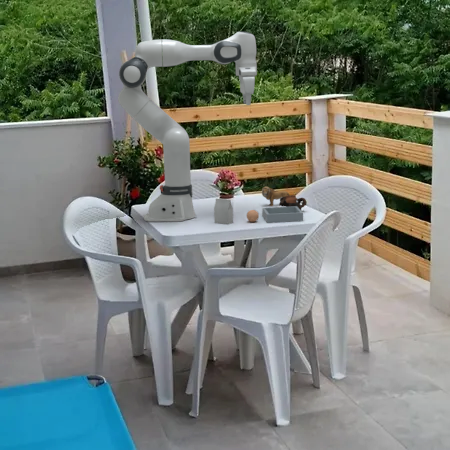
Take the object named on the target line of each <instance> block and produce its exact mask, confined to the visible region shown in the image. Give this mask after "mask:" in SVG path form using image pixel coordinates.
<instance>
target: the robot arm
mask: <svg viewBox="0 0 450 450" xmlns="http://www.w3.org/2000/svg"><path fill="white" fill-rule="evenodd" d="M256 43H257V41H256V37H255V35H254V34H253V33H251V32H248V31H236V33H233V35H231V36H230V37H229V36H228V38H225V39H223V40H218V41H216V42H215V43H212V44H201V45H200V44H198V45H197V44H196V45H195V44H194V45H192V44H186V43H184V42H182V41H179V40H173V39H164V38H163V39H162V38H161V39H150V40H145V41H141V42H139V43H138V44H137V45H136V47H135V49H134V50H135V51H134V53H135V54H134V57H132V58H131V59H128V60H126V61H124V62H123V63H122V65H121V66H120V67H119V73H118V76H119V79H120V82H121V83H122V84H123V88H122V89H121V91H119V94H118V97H117V100H118V103H119V105H120V106H121V108H123V110H124V111H125V112H126V113H127V115H129V116H130V117H131V118H132V119H133V120H134V121H135V122H137V124H138V125H140V127H142V128H143V129H144V130H145V131H146V133H147V132H148V133H149V134H150V135H151V136H153V137H154V138H155V139H156V140H157V141H158V142H160V144H162V145H163V146H162V147H163V165H164V166H163V167H164V169H163V170H164V171H163V172H164V185H160V186H159V190H160V194H159V195H158V196H157V197H156V198H155V199H154V200H153V201H151V203H149V207H148V213H146V214H144V215H143V220H144V221H145V222H183V221H187V220H190V219H195V218H196V216H197V215H196V212H195V209H194V208H195V207H194V203H193V186H192V185H193V184H192V180H191V152H190V151H191V145H190V136H189V134H188V133H187V131H186V129H185V128H184V127H183V126H181V125H180V124H179V123H178V122H177V121H176V120H175V119H174V118H172V117H171V116H170V115H169V114H168V112H165V111H164V110H163V109H162V108H161V107H160V106H159V105H158V104H157V103H155V102H154V100H153V99H152V98H150V97H149V96H148V95H147V94H146V93H145V92H144V91H143V89H142V86H143V84H144V82H145V80H146V78H147V71H148V70H149V69H151V68H159V67H174V66H179V65H181V64H184V63H188V62H190V61H213V62H215V63H217V64H219V65H229V64H230V63H232V62H234V63H235V76H236V77H237V76H238V79H239V88H240V89H239V91H240V93H241V94H242V99H243V104H244V105H246V106H251V102H252V101H251V100H252V95H254V92H255V84H256V83H255V81H256V79H255V78H256V76H257V75H258V73H257V72H258V70H257V69H258V66H257V63H258V62H257V59H256V57H257V44H256Z"/></svg>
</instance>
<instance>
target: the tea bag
mask: <svg viewBox="0 0 450 450" xmlns="http://www.w3.org/2000/svg"><path fill="white" fill-rule="evenodd" d="M233 209H234V208H233V205H232V202H231V199H228V198H215V202H214V207H213V214H214V215H213V218H214V224H223V225H230V224H232V223H233V224H234V210H233Z"/></svg>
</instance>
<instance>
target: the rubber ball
mask: <svg viewBox="0 0 450 450" xmlns="http://www.w3.org/2000/svg"><path fill="white" fill-rule="evenodd" d="M259 217H260V216H259V212H258V211H257V210H256V209H251V210H248V212H247V213H246V219H247V220H248V222H251V223H254V222H256V221H257V222H258V220H259Z"/></svg>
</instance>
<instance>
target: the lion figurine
mask: <svg viewBox="0 0 450 450" xmlns="http://www.w3.org/2000/svg"><path fill="white" fill-rule="evenodd" d="M261 189H262V190H261V195H262V197H264V198H265V199H266V201H267V200H268V201H269V204H268V206H270V207H274V200H280V199H281V198H282V197H285V196H289V195H290V193H289V192H288V191H286V190H281V191H277V190H275V189H273V188H271V187H269V186H264V187H262V188H261Z"/></svg>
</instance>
